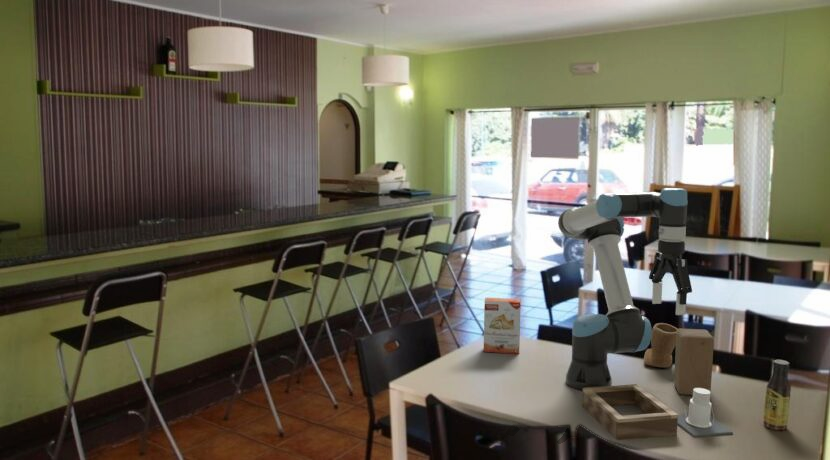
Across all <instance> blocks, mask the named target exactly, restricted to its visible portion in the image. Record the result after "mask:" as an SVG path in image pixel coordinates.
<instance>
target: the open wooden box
mask: <svg viewBox="0 0 830 460" xmlns="http://www.w3.org/2000/svg"><path fill="white" fill-rule="evenodd" d="M581 401H582V402H581V403H582V405H581V407H582V408H583V409H585V410H586V411H587V412H588V413H589V414H590V416H592V417H593V418H594V419H595V420H596V421H597V422H598V423H599V425H601V426H602V427H603V428H604V429H605V430H607V432H609V433H610V434H611V435H612V437H614V438H615V439H616V440H617V441H618V440H619V441H620V440H630V439H632V440H633V439H644V438H654V437H656V438H657V437H666V436H668V437H669V436H677V435H678V424H677V423H678V414H679V413H676V412H675V411H673V410H672V409H671V408H669V406H667V405H665V404H664V403H663V402H662V401H660V400H659V399H657V398H656V397H655V396H653V395H652V394H651V393H649V392H648V391H647V390H645V389H644V388H642V387H641V386H639V385H638V384H637V383H635V384H618V385H611V386H602V387H588V388H583V390H582V400H581ZM620 405H621V406H623V405H624V406H625V405H635V406H637V407H638V408H639V409H640V410H641V411H643V412H644V413H641V414H630V415H629V414H628V415H627V414H626V415H621V414H620V413H619V412H618V411H617V410H616V409H615V408H613V407H612V406H620Z"/></svg>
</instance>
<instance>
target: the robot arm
mask: <svg viewBox="0 0 830 460" xmlns="http://www.w3.org/2000/svg"><path fill="white" fill-rule="evenodd" d="M688 202H689V201H688V191H687V189H685V188H682V187H681V188H679V187H678V188H677V187H664V188H662V189H661V190H660V192H657V191H643V192H623V193H622V192H618V193H617V192H616V193H614V192H608V193H602V194H600V195H599V196H598V198H597V200H596V201H593V202H591V203H588V204H585V205H583V206H580V207H576V206H575V207H571V208H568V209H566V210H563V212H561V214H560V215H559V217H558V221H557V222H558V223H557V224H558V228H559V230H560V232H561V233H562V234H563V235H564V236H565V237H567V238H569V239H572V240H580V241H581V240H586V241H587V243H588V247H589V248H591V249H592V250H594V255H595V260H596V265H597V267H598V271H599V272H598V273H599V276H600V279H601V285H602V288H603V293H604V297H605V301H606V302H605V303H606V304H607V305H606V306H607V308H608V309H607V310H608V311H607V313H606V314H602V313H597V314H596V313H587V314H583V315H580V316H578V317H576V318H575V319H574V320H573V323H572V330H571V333H572V338H571V344H572V345H571V362H570V364H569V366H568V369H567V372H566V374H565V383H566V385H567V386H569V387H571V388H573V389H576V390H579V391H583V388H588V387H602V386H613V384H612V383H613V382H612V381H613V379H612V376H611V372H610V369H609V366H608V354H618V353H636V352H641V351H645V350H647V349H648V347H649V346H650V344H651V336H652V329H653V328H652V324H651V322H650V320H649V318H647V317H646V316H645V315H642V314H641V311H640V309H639V308H638V307H636V306H635V305H634V302H633V298H632V294H631V291H630V286H629V283H628V278H627V274H626V271H625V267H624V262H623V259H622V255H621V251H620V247H619V243H620V242H621V240H622V239H621V238H622V236H623V235H624V233H625V228H624V227H625V222H624V219H623V218H641V217H643V218H644V217H645V218H647V217H653V218H658V219H659V222H658V225H659V226H658V227H659V228H658V238H659V240H658V243H657V251H658V252H657V251H656V252H655V254H654V260H653V264H652V267H651V269H650V272H649V275H648V279H649V280H651V282H652V295H651V296H652V299H651V302H652V305H656V304H658V305H659V304H662V298H663V297H662V295H663V278H664V276H665V275H666V274H667V272H669V273H670V274H671V276H672V277H673V281H674V283H675V285H676V289H677V291H676V301H675V302H676V303H675V315H676V316H685V315H686V313H687V312H686V310H687V308H686V307H687V299H688V298H687V297H688V295H687V294H689V293H693V289H692V283H691V279H690V274H689V269H688V260H687V259H686V258H685V259H682V258H681V255H683V254H684V253H686V252H685V248H686V242H685V240H686V235H687V231H686V229H687V215H688V213H687V212H688Z"/></svg>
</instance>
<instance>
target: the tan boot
mask: <svg viewBox="0 0 830 460" xmlns="http://www.w3.org/2000/svg"><path fill="white" fill-rule="evenodd" d="M651 329H652V336H651V340H650V344H651V348H646V349H645V350H646V351H645V352H644V355H643V356H644V357H643V362H644V364H645V365H647V366H650V367H654V368H655V367H656V368H669V367H671V365H672V363H673V355H672V354H673V351H674V349H675V348H676V333H677V329H678V328H677V327H675V326H673V325H672V324H668V323H664V322H659V323H655V324H654V325H653V327H652V328H651Z"/></svg>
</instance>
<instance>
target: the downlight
mask: <svg viewBox="0 0 830 460" xmlns="http://www.w3.org/2000/svg"><path fill="white" fill-rule="evenodd" d="M710 393H711V392H710V391H709V390H707V389H703V388H694V389H693V395H692V398H690V400H689V407H688V413H689V414H688V418H686V422H687V423H688V424H690V425H693V426H696V427H701V428H708V427H711V425H712V424H711V422H710V416H711V414H712V413H714V411H713V406H712V401H711V394H710ZM710 401H711V402H710ZM684 405H685V407H684V408H686V404H684ZM711 412H712V413H711ZM684 413H687V409H684ZM712 416H713V417H715V416H714V414H713V415H712ZM686 417H687V415H686ZM713 423H714V420H713Z"/></svg>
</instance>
